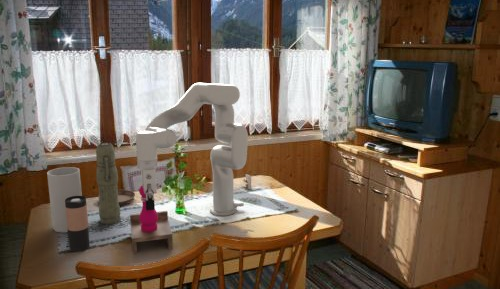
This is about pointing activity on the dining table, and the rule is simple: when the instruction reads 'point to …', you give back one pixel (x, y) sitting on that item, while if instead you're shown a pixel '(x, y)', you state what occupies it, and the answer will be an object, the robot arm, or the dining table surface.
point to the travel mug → (77, 223)
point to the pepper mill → (147, 215)
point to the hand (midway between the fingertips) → (149, 205)
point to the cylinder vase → (62, 193)
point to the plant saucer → (125, 196)
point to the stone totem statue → (107, 184)
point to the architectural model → (247, 181)
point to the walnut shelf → (160, 233)
